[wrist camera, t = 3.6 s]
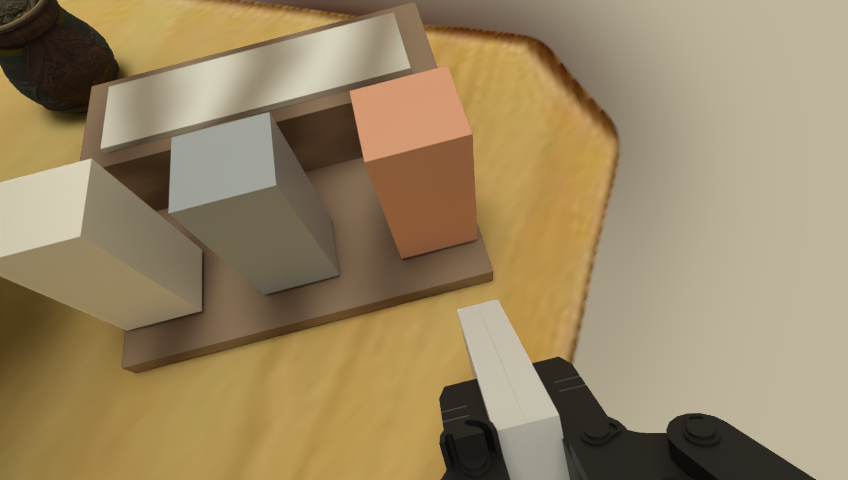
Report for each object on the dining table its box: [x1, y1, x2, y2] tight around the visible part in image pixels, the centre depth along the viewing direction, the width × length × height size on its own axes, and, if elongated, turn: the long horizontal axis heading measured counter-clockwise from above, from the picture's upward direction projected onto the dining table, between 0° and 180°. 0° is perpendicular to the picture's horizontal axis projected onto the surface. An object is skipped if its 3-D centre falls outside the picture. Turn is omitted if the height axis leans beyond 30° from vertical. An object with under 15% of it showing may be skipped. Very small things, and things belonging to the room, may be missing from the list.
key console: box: [80, 2, 493, 373], centre depth 28 cm, size 21×17×6 cm
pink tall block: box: [350, 65, 477, 259], centre depth 24 cm, size 4×4×9 cm
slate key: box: [168, 112, 339, 295], centre depth 24 cm, size 4×4×9 cm
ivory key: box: [0, 158, 202, 331], centre depth 24 cm, size 4×4×9 cm
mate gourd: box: [0, 0, 119, 113], centre depth 35 cm, size 7×8×10 cm
